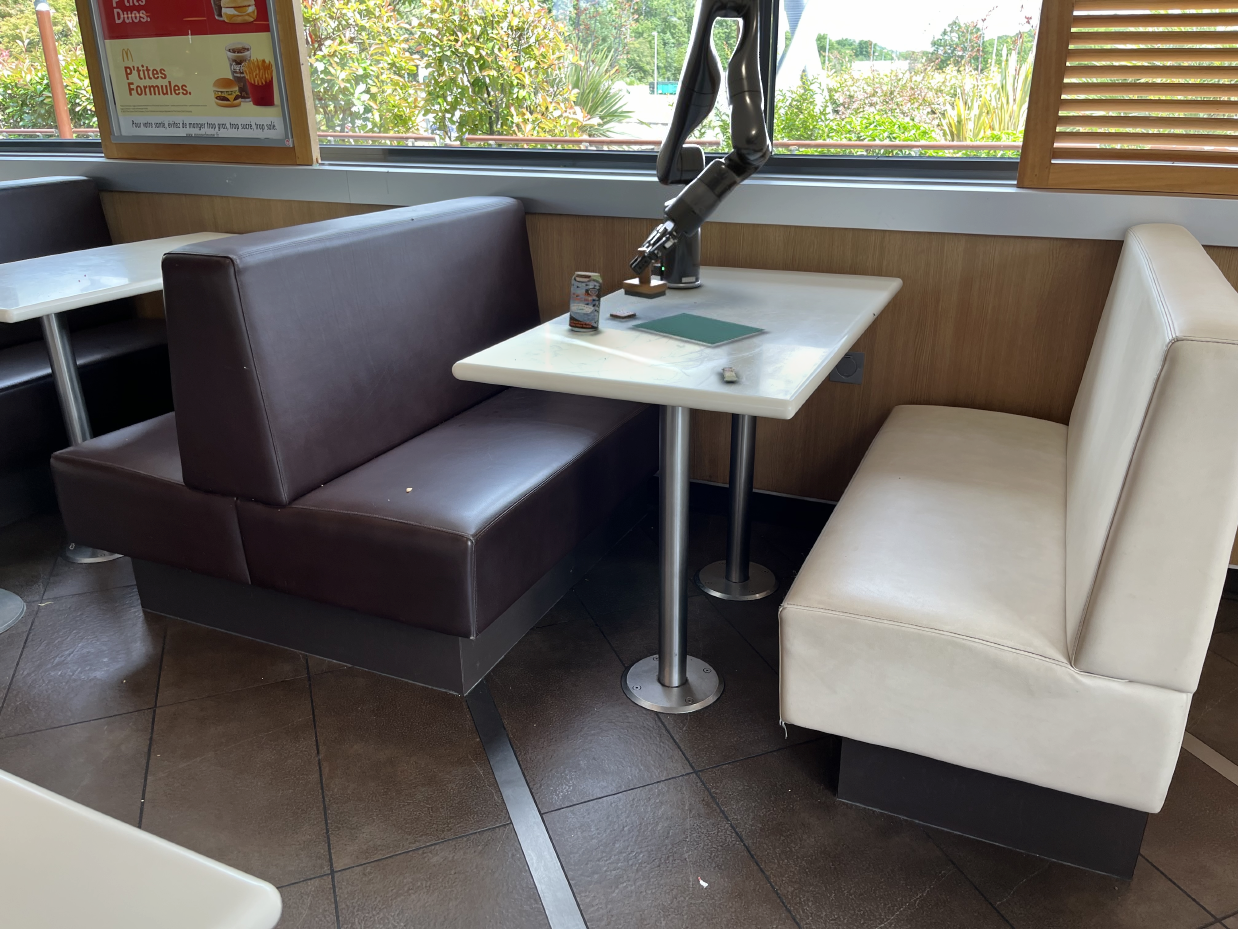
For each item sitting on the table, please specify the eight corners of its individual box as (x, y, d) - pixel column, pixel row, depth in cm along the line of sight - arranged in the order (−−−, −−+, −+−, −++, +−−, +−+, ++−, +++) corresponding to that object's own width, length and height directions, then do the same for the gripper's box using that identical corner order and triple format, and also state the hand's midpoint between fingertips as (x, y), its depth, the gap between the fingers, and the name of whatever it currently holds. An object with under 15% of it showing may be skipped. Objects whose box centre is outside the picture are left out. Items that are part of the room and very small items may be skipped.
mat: (631, 328, 183) (631, 325, 183) (684, 315, 193) (684, 312, 193) (712, 347, 168) (712, 344, 168) (765, 332, 178) (765, 329, 178)
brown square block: (609, 318, 191) (609, 313, 191) (622, 315, 194) (622, 310, 193) (623, 321, 189) (623, 316, 188) (636, 318, 191) (636, 312, 191)
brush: (622, 295, 186) (621, 248, 182) (639, 290, 189) (637, 245, 186) (651, 299, 181) (650, 252, 177) (667, 295, 184) (666, 248, 181)
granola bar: (738, 383, 147) (738, 377, 146) (724, 383, 147) (724, 377, 146) (734, 371, 153) (734, 365, 153) (720, 371, 153) (720, 365, 153)
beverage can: (563, 333, 180) (561, 273, 175) (581, 325, 186) (580, 267, 181) (590, 336, 177) (589, 276, 172) (608, 328, 183) (607, 270, 178)
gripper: (673, 190, 185) (615, 252, 188) (687, 197, 172) (625, 264, 175) (698, 216, 187) (640, 276, 191) (713, 225, 175) (651, 290, 178)
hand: (633, 270), depth 183 cm, fingers closed on brush, 2 cm apart
